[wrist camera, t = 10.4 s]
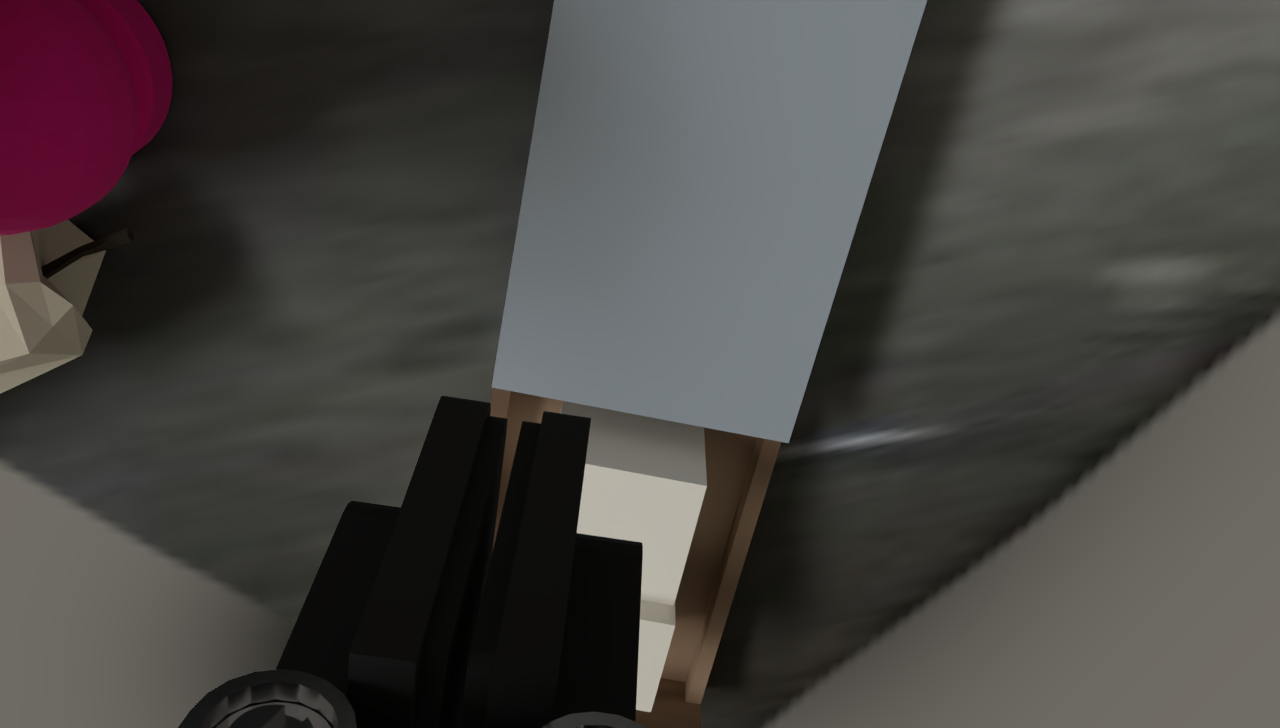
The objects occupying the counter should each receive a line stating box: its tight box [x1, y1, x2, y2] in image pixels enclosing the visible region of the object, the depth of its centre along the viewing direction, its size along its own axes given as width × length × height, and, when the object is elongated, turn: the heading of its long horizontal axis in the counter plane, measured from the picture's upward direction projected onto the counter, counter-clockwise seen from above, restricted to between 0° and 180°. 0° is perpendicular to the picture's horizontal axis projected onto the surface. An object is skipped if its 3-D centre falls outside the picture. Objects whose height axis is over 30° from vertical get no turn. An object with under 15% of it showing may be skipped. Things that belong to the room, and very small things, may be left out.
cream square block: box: [636, 600, 675, 712], centre depth 40 cm, size 5×5×4 cm
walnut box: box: [490, 388, 781, 728], centre depth 41 cm, size 14×10×4 cm
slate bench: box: [492, 0, 927, 443], centre depth 34 cm, size 20×10×2 cm, turn 169°
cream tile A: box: [561, 401, 707, 606], centre depth 39 cm, size 5×5×4 cm
